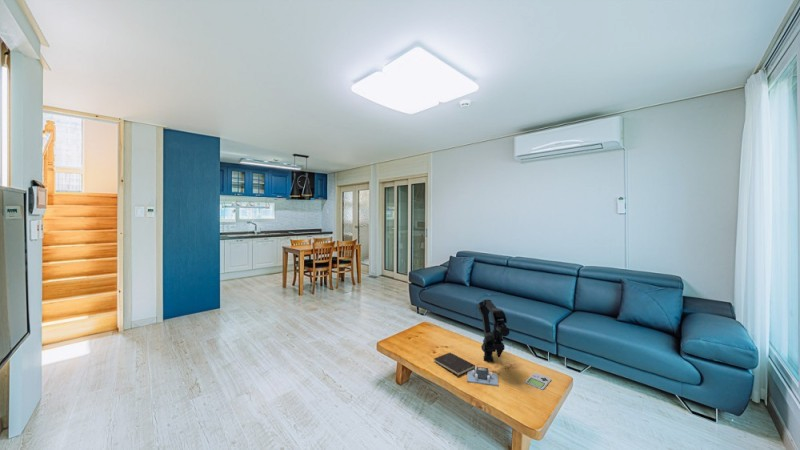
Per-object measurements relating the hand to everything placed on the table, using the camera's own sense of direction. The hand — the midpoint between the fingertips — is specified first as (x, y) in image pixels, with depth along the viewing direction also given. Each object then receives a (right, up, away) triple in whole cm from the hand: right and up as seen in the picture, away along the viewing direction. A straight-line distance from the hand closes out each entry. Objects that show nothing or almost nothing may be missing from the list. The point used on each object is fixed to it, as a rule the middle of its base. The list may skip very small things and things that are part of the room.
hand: (497, 353), depth 179 cm
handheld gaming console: (+21, -13, -10) cm, 27 cm away
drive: (-12, -12, -7) cm, 18 cm away
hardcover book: (-27, -12, +8) cm, 30 cm away
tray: (-12, -12, -7) cm, 19 cm away
